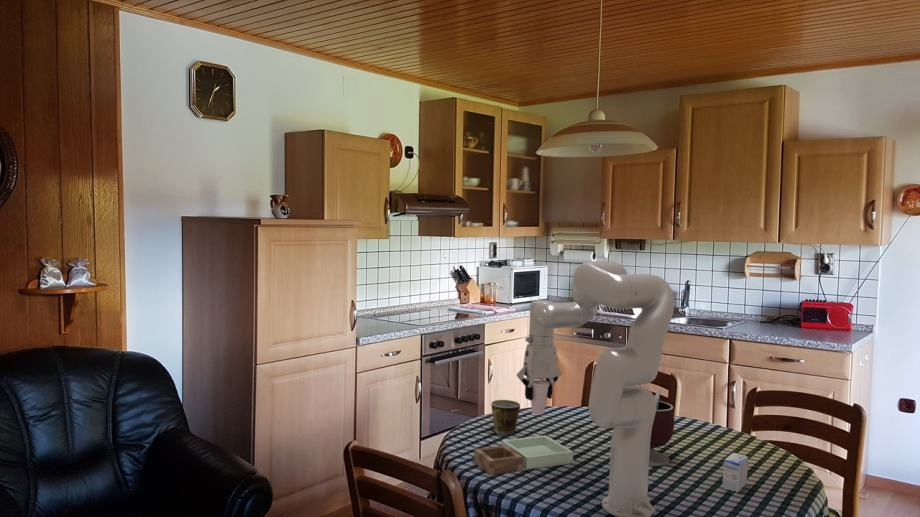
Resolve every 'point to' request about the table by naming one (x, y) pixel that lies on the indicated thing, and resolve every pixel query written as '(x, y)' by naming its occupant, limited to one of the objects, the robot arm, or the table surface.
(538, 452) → the tray
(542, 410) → the smoothie
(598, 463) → the table surface
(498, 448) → the socket block
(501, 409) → the ceramic cup
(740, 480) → the medicine box
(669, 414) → the mate gourd
